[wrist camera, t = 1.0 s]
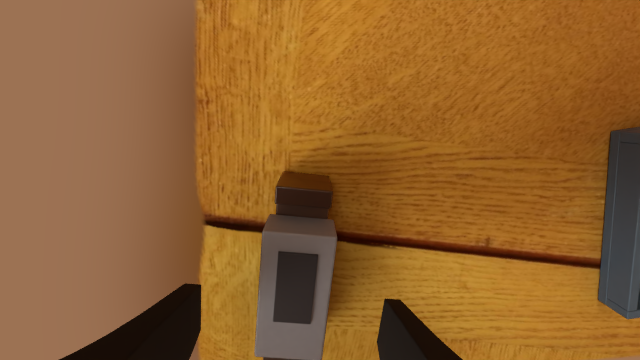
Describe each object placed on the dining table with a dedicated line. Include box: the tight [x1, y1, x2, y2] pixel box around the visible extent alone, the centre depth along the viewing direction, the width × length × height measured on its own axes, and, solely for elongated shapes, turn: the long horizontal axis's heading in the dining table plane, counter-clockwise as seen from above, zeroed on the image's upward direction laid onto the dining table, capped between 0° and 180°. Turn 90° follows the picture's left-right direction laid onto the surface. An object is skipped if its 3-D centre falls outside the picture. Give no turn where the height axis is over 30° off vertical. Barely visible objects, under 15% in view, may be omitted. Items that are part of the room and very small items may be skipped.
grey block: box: [255, 214, 337, 360], centre depth 13 cm, size 6×3×2 cm, turn 174°
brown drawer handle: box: [263, 172, 333, 360], centre depth 15 cm, size 9×2×3 cm, turn 174°
